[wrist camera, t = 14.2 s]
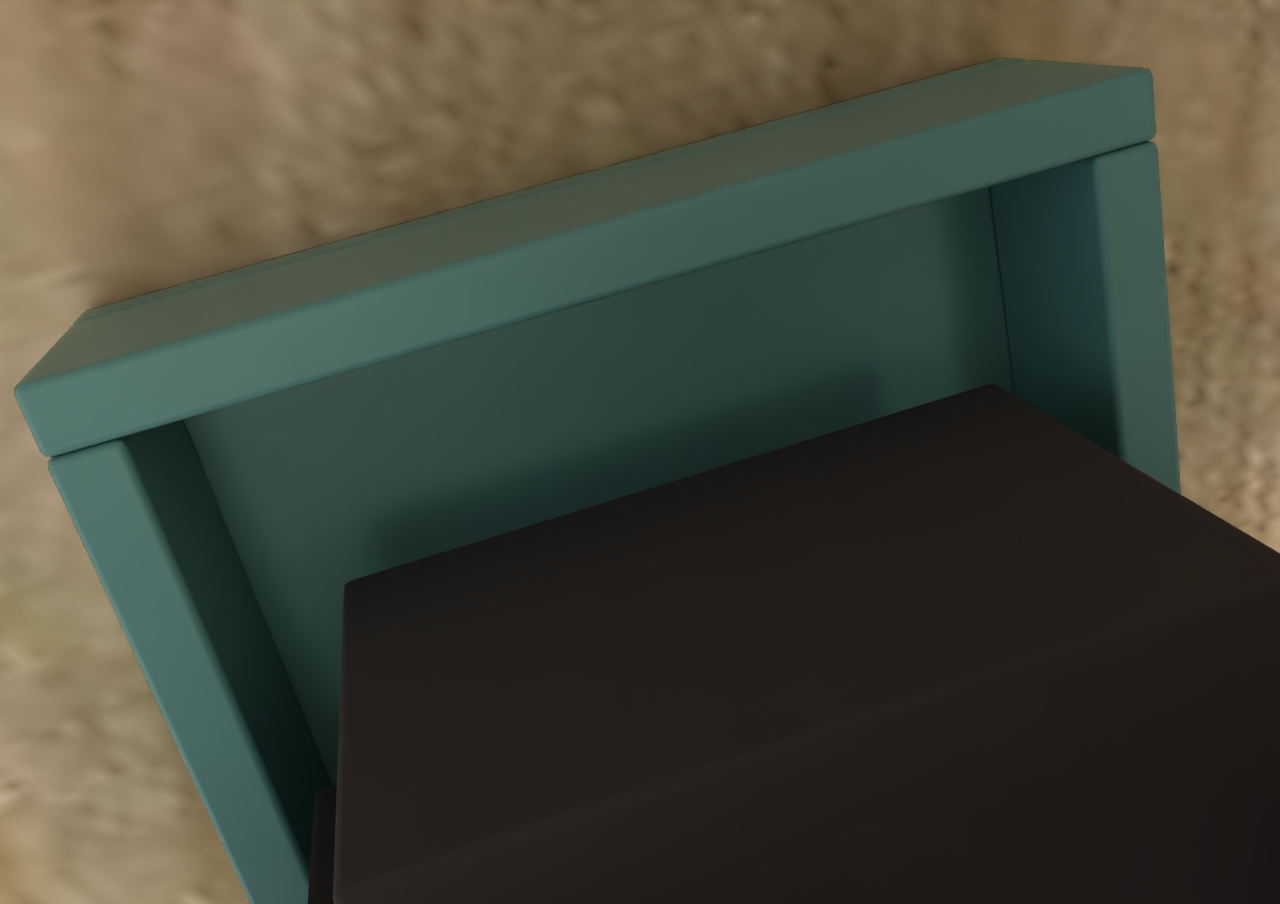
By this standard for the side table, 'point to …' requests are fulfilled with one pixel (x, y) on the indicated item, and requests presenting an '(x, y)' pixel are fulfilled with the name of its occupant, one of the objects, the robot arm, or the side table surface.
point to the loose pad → (827, 688)
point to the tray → (582, 377)
